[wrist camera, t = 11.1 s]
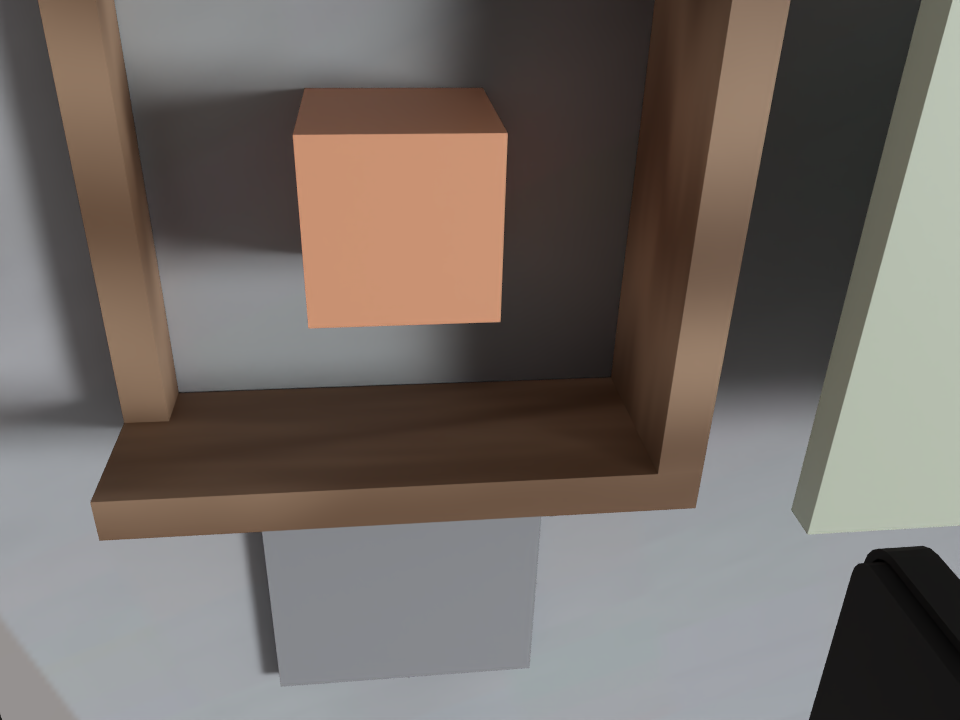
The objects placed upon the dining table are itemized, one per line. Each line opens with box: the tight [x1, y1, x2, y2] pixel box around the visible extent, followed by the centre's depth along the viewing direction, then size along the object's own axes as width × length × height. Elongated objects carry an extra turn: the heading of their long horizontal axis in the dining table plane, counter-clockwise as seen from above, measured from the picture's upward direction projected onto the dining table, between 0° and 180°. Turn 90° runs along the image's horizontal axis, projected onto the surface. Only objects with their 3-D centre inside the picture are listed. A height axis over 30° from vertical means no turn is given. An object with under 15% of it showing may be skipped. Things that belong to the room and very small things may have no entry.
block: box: [293, 88, 508, 328], centre depth 21 cm, size 4×4×4 cm
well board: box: [38, 0, 791, 541], centre depth 21 cm, size 15×15×5 cm
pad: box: [262, 516, 541, 686], centre depth 30 cm, size 9×9×1 cm
